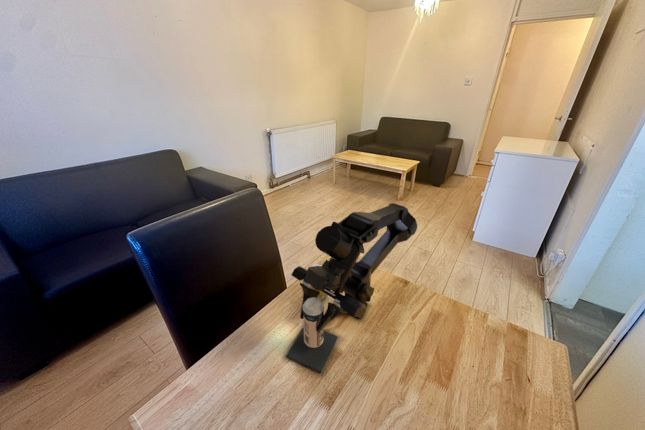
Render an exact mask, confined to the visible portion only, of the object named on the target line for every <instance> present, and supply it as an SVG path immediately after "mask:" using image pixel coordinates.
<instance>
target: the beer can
mask: <svg viewBox="0 0 645 430" xmlns="http://www.w3.org/2000/svg"><path fill="white" fill-rule="evenodd" d="M324 314H325V303H323V301H322V300H320V299H319V298H315V297H312V298H308V299H307V300H306V301H305V303H304V304H303V319H302V320H303V328H304V342H305V344H306V345H307V346H309V347H312V348H315V347H318V346H320V345H321V344H322V343H323V340H324V337H323V332H324V331H325V330H324V329H325V327H324V328H323V329H322V330H321V331H319V332H317V331H316V329H317V327H318V325H319V323H320V321H321V319H322V317H323V316H324Z"/></svg>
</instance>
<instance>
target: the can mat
mask: <svg viewBox="0 0 645 430" xmlns="http://www.w3.org/2000/svg"><path fill="white" fill-rule="evenodd" d="M323 337H324V340H323V343H322V344H321V345H320V346H318V347H315V348H312V347H309V346H307V345H306V344H305V342H304V327H302V330H301V331H300V333H299V335H298V336H297V338H296V339H295V340H294V343H293V344H292V346H291V347H290V349H289V350H288V352H287V354H286V355H285V357H286V358H288V359H290V360H292V361H294V362H296V363H299V364H301V365H303V366H305V367H307V368H309V369H311V370H313V371H315V372H317V373H320V374H322V372H323V370H324V367H325V365H326V364H327V361H328V360H329V357H330V355H331V353H332V351H333V349H334V347H335V344H336V342H337V341H338V338H339V337H338V335H336V334H333V333H330V332H328V331H325V330H324V332H323Z"/></svg>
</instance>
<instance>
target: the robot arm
mask: <svg viewBox="0 0 645 430" xmlns="http://www.w3.org/2000/svg"><path fill="white" fill-rule="evenodd" d="M384 228H386V231H384V233H383V234H382V235H381V236H380V237H379V239H377V241H376V242H374V244H373V245H372V246H371V247H370V248H369V249H368V251H367V252H366V253H365V247H364V244H368V243H370V242H372V241H373V240H374V239H376V238H378V235H379V231H380V230H382V229H384ZM417 230H418V223H417V220H416V218H415V217H414V216H413V215H412V214H411V213H410V211H409V208H407V207H406V206H404V205H401V204H398V203H395V202H392V203H389V204H388V205H386V206H383V207H382V208H378V209H376V210H374V211H371V212H364V211H354V212H353V211H352V212H351V213H349V215H347V216H346V217H344V218H343V219H342V220H340V221H339V222H337V221H332V223H331V224H330V225H326V226H324V227H323V228H321V229H320V230H318V232H317V234H316V236H315V246H316V248H317V249H318V250H319V251H321V252H322V253H324V254H325V255H327V256H328V257H330V258H329V260H328V259H326V260H325V261H323V264H321V266H313V267H310V266H308V267H307V268H306V267H303V266H300V265H298V266H296V267H295V268H294V269H293V271H292V273H291V276H292V277H293V278H295V279H296V280H298V281H302V282H299V286H300V287H301V289H302V293H303V295H302V303H301V309H300V316H299V318H300V319H301V320H303V304H304V303H305V301H306V300H307V299H308V298H312V297H315V298H317V297H318V295H319V293H320V292H319V291H322V292H324V293H325V295H327V296H328V297H330V298H332V299H333V302H330V301H327V308H326V311H324V316H323V317H322V319H321V321H320V323H319V325H318V327H317V329H316V331H317V332H319V331H321V330H322V329H323V328H324V329H325V328H326V327H327V326H328V325H329V324H330V323H332V321H333V320H335V319H336V318H338V317H339V316H342V314H343V315H346V316H349V317H352V318H354V319H357V320H359V321H361V320H362V319H363V318H364V316H365V314H366V311H367V307H368V303H369V302H371V300H372V296H373V295H374V293H375V292H374V291H375V288H374V287H373V286H371V285H372V284H371V282H372V279H371V278H372V275H373V273H374V272H376V270H377V269H378V268H379V266H380V265H382V263H383V261H384V260H385V259H386V258H387V257H388V255H390V253H391V252H392V251H393V250H394V248H395V247H396V246H397V245H398V244H399V243H404V242H405V241H406V242H407V241H408V240H409V239H410V238H411V237H412V236H414V235H415V234H416V232H417ZM361 254H364V255H363V256H362V258H361V259H359V257H360V255H361ZM358 259H359V260H358Z"/></svg>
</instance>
